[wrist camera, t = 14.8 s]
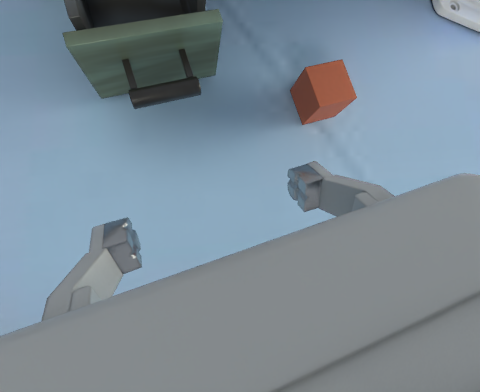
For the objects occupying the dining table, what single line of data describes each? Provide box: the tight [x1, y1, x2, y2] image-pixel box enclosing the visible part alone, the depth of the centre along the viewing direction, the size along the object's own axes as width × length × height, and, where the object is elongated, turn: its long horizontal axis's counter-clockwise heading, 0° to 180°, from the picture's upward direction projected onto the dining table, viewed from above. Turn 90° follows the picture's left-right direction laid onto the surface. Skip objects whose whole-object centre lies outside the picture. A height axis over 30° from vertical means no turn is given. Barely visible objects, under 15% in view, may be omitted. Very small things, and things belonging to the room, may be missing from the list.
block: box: [290, 60, 357, 125], centre depth 30 cm, size 5×5×5 cm
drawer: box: [63, 0, 223, 109], centre depth 25 cm, size 19×12×8 cm, turn 19°
